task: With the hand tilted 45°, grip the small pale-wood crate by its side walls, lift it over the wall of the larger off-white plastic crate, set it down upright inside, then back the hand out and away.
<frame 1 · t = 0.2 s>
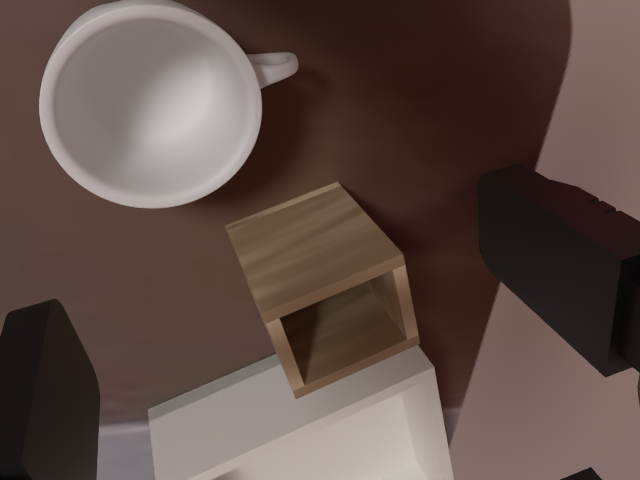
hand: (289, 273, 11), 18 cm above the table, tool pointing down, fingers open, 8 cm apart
teacup: (169, 71, 26), on the table
big plastic crate: (303, 434, 40), on the table
small wooden crate: (294, 243, 32), on the table
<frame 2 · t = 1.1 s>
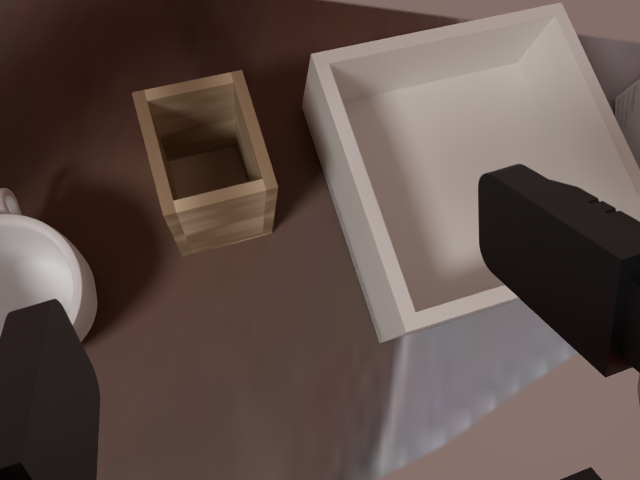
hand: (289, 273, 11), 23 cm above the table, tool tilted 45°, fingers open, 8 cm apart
teacup: (38, 291, 33), on the table
big plastic crate: (454, 188, 37), on the table
small wooden crate: (214, 195, 35), on the table
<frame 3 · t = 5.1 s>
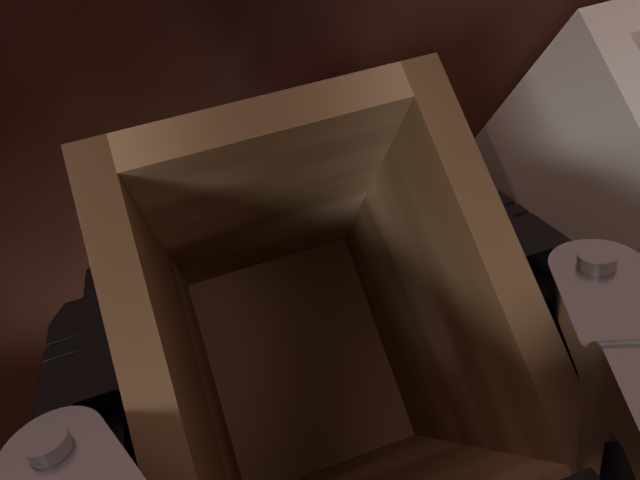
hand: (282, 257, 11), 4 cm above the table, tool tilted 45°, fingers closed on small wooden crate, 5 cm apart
small wooden crate: (297, 360, 15), on the table, touching gripper
when the fingers open (6 cm above the table, at t = 11.1 s): small wooden crate stays where it is, resting on big plastic crate.
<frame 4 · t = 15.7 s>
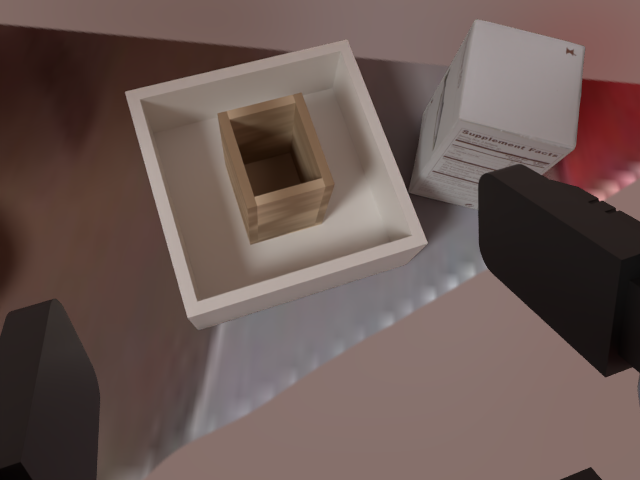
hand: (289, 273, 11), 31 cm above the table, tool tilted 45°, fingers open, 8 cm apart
big plastic crate: (272, 197, 44), on the table
supplement box: (456, 165, 46), on the table
small wooden crate: (273, 194, 43), point 1 cm above the table, touching big plastic crate
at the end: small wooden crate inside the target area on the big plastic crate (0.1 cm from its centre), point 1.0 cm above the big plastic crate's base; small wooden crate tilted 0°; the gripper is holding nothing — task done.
